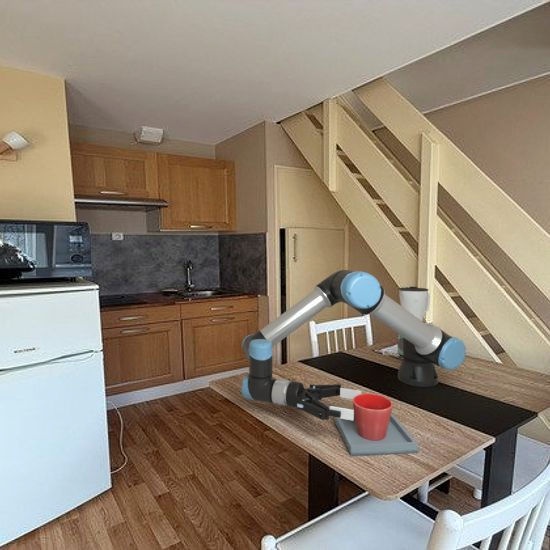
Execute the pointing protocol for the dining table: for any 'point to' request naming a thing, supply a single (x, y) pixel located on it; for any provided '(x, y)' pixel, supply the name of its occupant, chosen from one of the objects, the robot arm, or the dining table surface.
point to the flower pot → (372, 415)
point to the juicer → (413, 306)
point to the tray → (391, 444)
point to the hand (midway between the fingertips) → (357, 404)
